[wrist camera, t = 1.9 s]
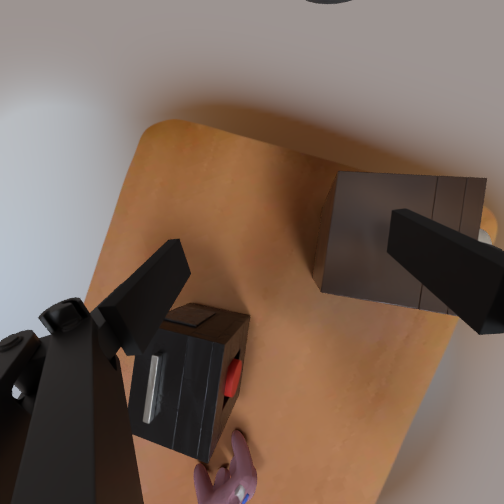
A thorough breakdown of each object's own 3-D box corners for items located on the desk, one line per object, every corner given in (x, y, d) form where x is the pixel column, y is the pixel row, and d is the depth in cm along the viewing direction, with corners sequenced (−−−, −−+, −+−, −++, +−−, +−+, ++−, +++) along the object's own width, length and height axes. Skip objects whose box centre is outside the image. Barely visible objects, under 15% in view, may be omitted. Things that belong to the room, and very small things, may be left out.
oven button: (224, 349, 28) (212, 364, 24) (243, 354, 28) (234, 370, 24) (220, 379, 28) (207, 399, 25) (239, 385, 28) (229, 405, 24)
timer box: (322, 207, 30) (338, 170, 17) (402, 214, 28) (487, 177, 15) (312, 277, 30) (320, 292, 17) (391, 290, 28) (467, 317, 15)
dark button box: (190, 301, 34) (134, 323, 23) (250, 314, 32) (222, 346, 20) (179, 376, 34) (118, 437, 23) (239, 394, 32) (204, 472, 20)
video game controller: (215, 474, 34) (212, 544, 27) (192, 464, 33) (183, 535, 26) (257, 436, 33) (266, 500, 26) (235, 424, 31) (238, 488, 25)
